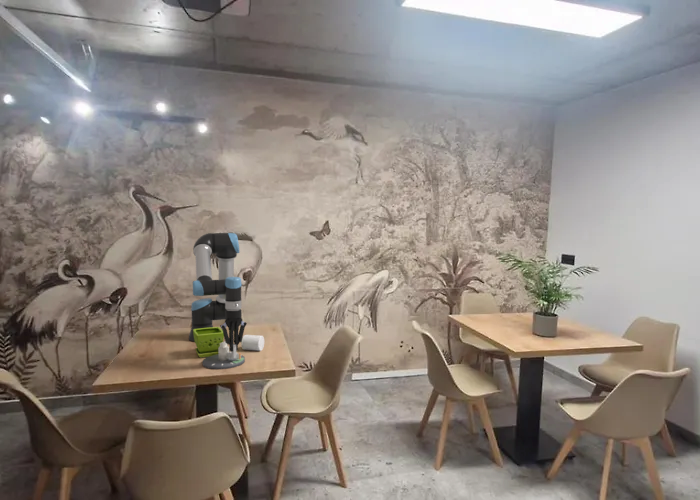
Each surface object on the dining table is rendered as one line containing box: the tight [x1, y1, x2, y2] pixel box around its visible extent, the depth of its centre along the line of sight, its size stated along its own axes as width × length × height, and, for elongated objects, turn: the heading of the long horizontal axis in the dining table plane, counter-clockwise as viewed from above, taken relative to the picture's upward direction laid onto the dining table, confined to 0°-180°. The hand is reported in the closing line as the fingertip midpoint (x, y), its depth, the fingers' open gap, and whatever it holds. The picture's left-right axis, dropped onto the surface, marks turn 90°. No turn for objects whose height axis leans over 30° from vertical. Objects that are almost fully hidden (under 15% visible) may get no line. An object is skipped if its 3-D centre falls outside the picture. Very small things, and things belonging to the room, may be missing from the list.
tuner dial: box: [202, 354, 246, 370], centre depth 217 cm, size 20×20×2 cm
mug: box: [240, 334, 265, 352], centre depth 241 cm, size 12×10×8 cm
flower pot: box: [193, 326, 225, 359], centre depth 231 cm, size 14×14×13 cm
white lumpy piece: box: [218, 340, 242, 361], centre depth 216 cm, size 12×5×8 cm, turn 71°
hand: (233, 357), depth 213 cm, fingers closed
